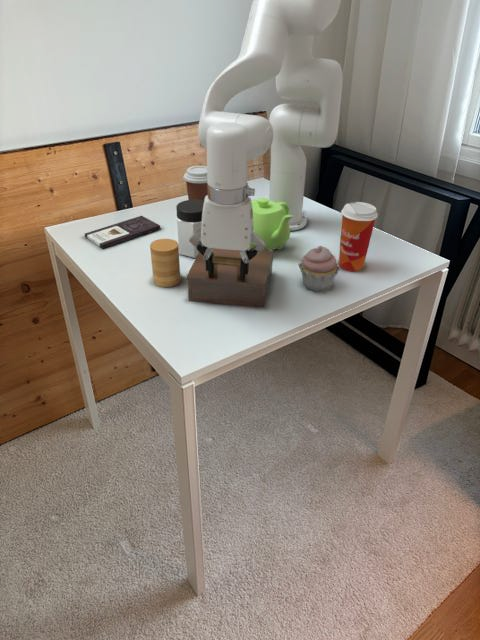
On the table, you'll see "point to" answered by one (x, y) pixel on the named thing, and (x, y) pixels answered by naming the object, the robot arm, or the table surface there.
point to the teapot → (271, 222)
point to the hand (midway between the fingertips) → (227, 274)
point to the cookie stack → (165, 262)
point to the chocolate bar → (122, 231)
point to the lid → (232, 268)
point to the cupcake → (318, 269)
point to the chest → (229, 293)
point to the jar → (188, 225)
